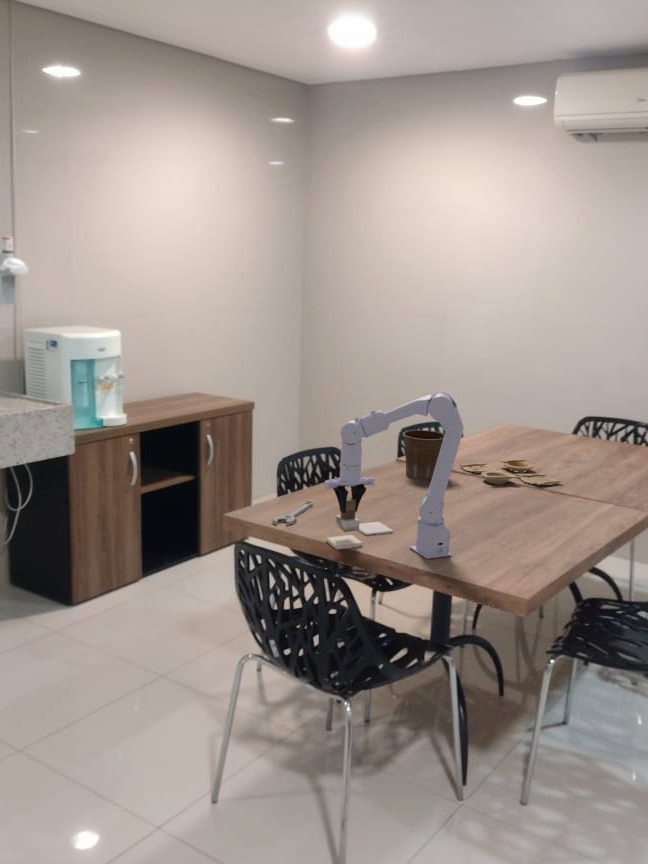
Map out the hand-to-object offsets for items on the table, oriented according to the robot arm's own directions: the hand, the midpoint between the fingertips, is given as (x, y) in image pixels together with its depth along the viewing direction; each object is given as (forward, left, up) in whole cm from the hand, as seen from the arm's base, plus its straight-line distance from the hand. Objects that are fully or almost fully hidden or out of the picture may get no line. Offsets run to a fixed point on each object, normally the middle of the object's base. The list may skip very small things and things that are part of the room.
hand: (348, 511), depth 234 cm
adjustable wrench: (+29, +3, -10) cm, 31 cm away
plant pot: (+60, -61, -10) cm, 86 cm away
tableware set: (+51, -94, -10) cm, 107 cm away
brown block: (0, 0, -5) cm, 5 cm away
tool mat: (+9, -13, -9) cm, 18 cm away
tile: (0, -3, -9) cm, 10 cm away
